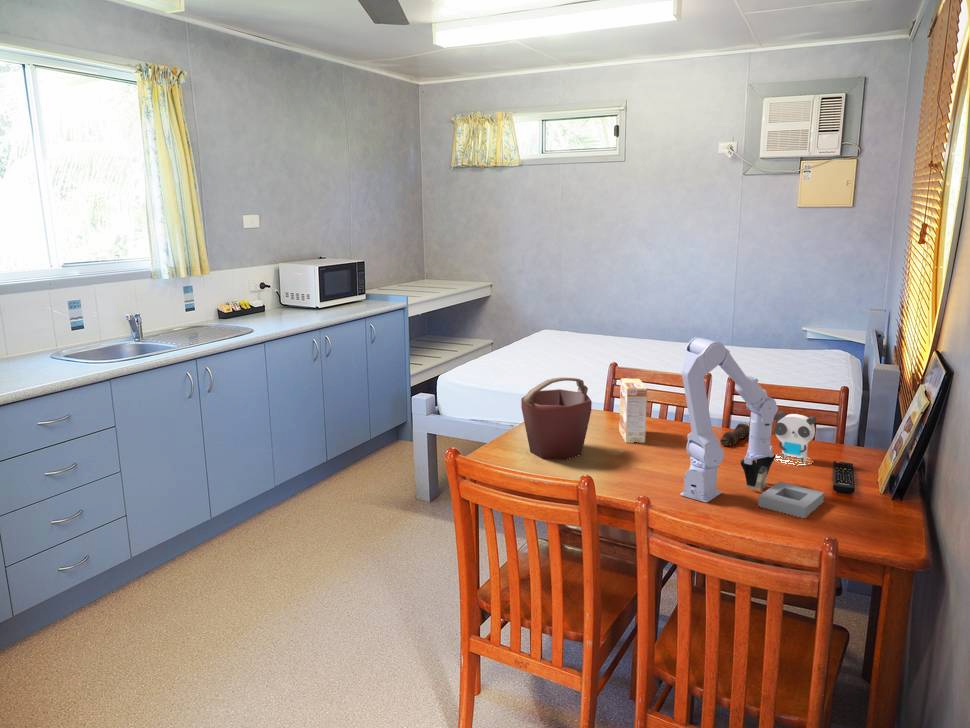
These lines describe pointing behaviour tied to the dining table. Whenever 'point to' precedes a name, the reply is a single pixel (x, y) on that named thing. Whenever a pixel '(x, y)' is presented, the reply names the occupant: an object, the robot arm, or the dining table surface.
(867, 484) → the dining table surface
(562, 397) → the bucket
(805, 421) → the panda figurine
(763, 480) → the peg
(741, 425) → the dark brown cylinder
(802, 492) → the socket board
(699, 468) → the robot arm
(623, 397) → the coffeecake box
